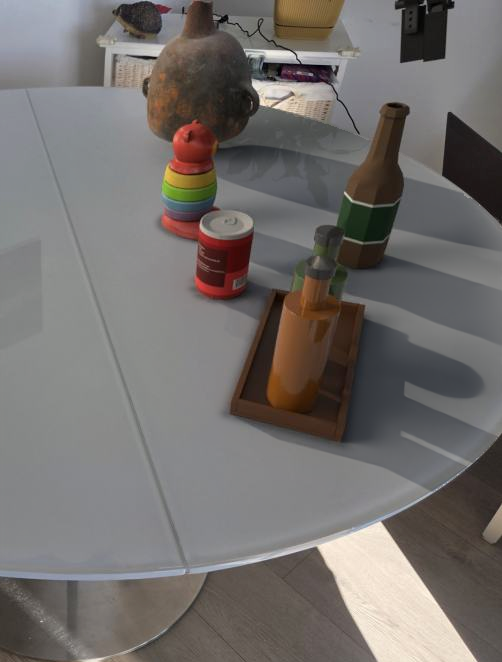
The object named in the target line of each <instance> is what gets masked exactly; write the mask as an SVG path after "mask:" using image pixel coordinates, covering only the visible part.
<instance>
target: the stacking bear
mask: <svg viewBox="0 0 502 662" xmlns="http://www.w3.org/2000/svg"><path fill="white" fill-rule="evenodd" d="M219 145H220V144H219V143H218V141H217V139H216V138H215V137H214V135H213V134H212V132H211V131H210V130H209V128H208V127H206V126H204V125H202V124H199V120H194V121H193V122H192V124H188V125H185V126H183V127H181V128H180V129H179V130H178V131H177V132H176V134H175V135H174V138H173V143H172V150H173V153H174V157H173V158H172V159H171V160H170V162H169V163H168V164H167V166H166V169H165V172H164V177H163V178H162V179H163V180H162V184H161V198H162V203H163V209H164V212H163V214H162V216H161V224H162V226H163V227H164V228H165V229H166V230H168V231H169V232H171V233H172V234H175V235H177V236H179V237H183V238H187V239H191V240H197V241H198V238H199V228H200V221H201V219H202V217H203V216H205V215H206V214H208V213H210V212H214V211H219V210H222V209H221V208H219V207H218V206H215V205H214V204H215V201H216V198H217V193H218V192H217V191H218V178H217V172H216V167H215V162H214V159H212V157H213V156H214V155H215V154H216V153H217V151H218V149H219Z"/></svg>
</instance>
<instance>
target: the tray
mask: <svg viewBox="0 0 502 662" xmlns="http://www.w3.org/2000/svg"><path fill="white" fill-rule="evenodd" d="M289 293H290V290H284V289H279V288H278V289H277V288H273V287H272V288H271V289H270V291H269V295H268V298H267V300H266V303H265V306H264V308H263V311H262V314H261V318H260V320H259V322H258V325H257V328H256V331H255V334H254V336H253V339H252V341H251V342H252V343H251V344H250V348H249V349H248V353H247V356H246V359H245V361H244V363H243V367H242V370H241V372H240V375H239V377H238V381H237V383H236V386H235V388H234V391H233V394H232V398H231V400H230V405H229V411H228V412H229V414H230V415H234V416H238V417H241V418H245V419H249V420H254V421H258V422H260V423H264V424H268V425H273V426H277V427H280V428H285V429H288V430H292V431H296V432H300V433H302V434H303V433H304V434H308V435H312V436H316V437H318V438H323V439H326V440H329V441H334V442H338V443H341V442H342V439H343V436H344V433H345V429H346V425H347V424H346V423H347V418H348V411H349V406H350V400H351V393H352V388H353V381H354V375H355V369H356V364H357V357H358V352H359V351H358V350H359V345H360V339H361V334H362V328H363V320H364V316H365V309H366V304H363V303H358V302H352V301H346V300H342V301H341V311H340V315H339V319H338V322H337V326H336V330H335V334H334V338H333V341H332V345H331V349H330V353H329V356H328V360H327V364H326V368H325V372H324V375H323V379H322V383H321V387H320V390H319V394H318V398H317V402H316V405H315V407H314V408H313V409H312V410H311V411H309V412H307V413H303V414H298V413H294V412H290V411H286V410H282V409H278V408H274V407H273V406H272V405H271V404H270V403H269V402H268V400H267V397H266V391H267V386H268V381H269V376H270V370H271V365H272V360H273V355H274V350H275V345H276V339H277V334H278V329H279V324H280V319H281V314H282V308H283V303H284V299H285V297H286V296H287V295H288V294H289Z"/></svg>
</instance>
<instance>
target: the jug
mask: <svg viewBox="0 0 502 662" xmlns="http://www.w3.org/2000/svg"><path fill="white" fill-rule="evenodd" d="M213 4H214V1H213V0H192V1H191V3H190V4H189V6H188V7H187V9H186V16H185V17H186V18H185V23H184V26H183V30H182V31H181V33H180V34H178V35H176V36H174V37H173V38H171V39H170V40H169V41H168V42H167V43H166V44H165V46H164V47H163V48H162V49H161V51H160V53H159V54H158V56H157V58H156V59H155V62H154V64H153V67H152V70H151V73H150V74H149V75H147V76H146V77H144V79H143V80H142V84H141V86H142V87H141V88H142V89H141V92H142V95H143V96H144V98H145V99H146V117H147V118H146V119H147V124H148V127H149V130H150V132H151V133H152V134H153V135H154V136H155V137H157V138H158V139H160V140H163V141H165V142H168V143H172V144H173V138H174V135H175V134H176V132H177V131H178V130H179V129H180V128H181V127H183V126H185V125H188V124H192V122H193V121H194V120H199V124H202V125H204V126H206V127H208V128H209V130H210V131H211V132H212V134H213V135H214V137H215V138H216V139H217V141H218V144H221V143H224V142H227V141H229V140H232V139H234V138H235V137H237V136H239V135H240V134H241V133H243V132H244V130H245V129H246V128H247V125H248V123H249V120H250V118H251V117H253V116H254V115H256V114H257V112H258V111H259V109H260V103H261V99H260V95H259V93H258V91H257V90H256V88H254V86H253V79H252V72H251V68H250V63H249V61H248V57H247V55H246V52H245V49H244V47H243V46H242V44H241V42H239V40H238V39H237V38H236V37H235V36H234V35H232V34H231V33H229V32H228V31H225V30H223V29H220V24H219V21H217V20H214V14H213V13H214V12H213V6H214V5H213Z"/></svg>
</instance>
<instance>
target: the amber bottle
mask: <svg viewBox="0 0 502 662" xmlns="http://www.w3.org/2000/svg"><path fill="white" fill-rule="evenodd" d="M306 259H307V260H306V264H305V269H304V272H305V279H304V283H303V288H302V289H301V290H296V291H293V292H291V293H289V294H288V295H287V296H286V297H285V299H284V303H283V308H282V314H281V319H280V324H279V329H278V334H277V339H276V345H275V350H274V355H273V360H272V365H271V370H270V376H269V381H268V386H267V391H266V397H267V400H268V402H269V403H270V404H271V405H272V406H273V407H274V408H278V409H282V410H286V411H290V412H294V413H298V414H303V413H307V412H309V411H311V410H312V409H313V408H314V407H315V405H316V402H317V398H318V394H319V390H320V387H321V383H322V379H323V375H324V372H325V368H326V364H327V360H328V356H329V353H330V349H331V345H332V341H333V338H334V334H335V330H336V326H337V322H338V319H339V315H340V311H341V305H340V303H339V301H338V300H337V299H336V298H335V297H333V296H332V295H330V294H328V292H329V288H330V284H331V280H332V278H333V277H334V276H335V272H336V268H337V263H338V262H337V261H335V260H334V259H332V258H330V257H327V256H321V255H317V256H312V255H311V256H309V257H308V258H306Z"/></svg>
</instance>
